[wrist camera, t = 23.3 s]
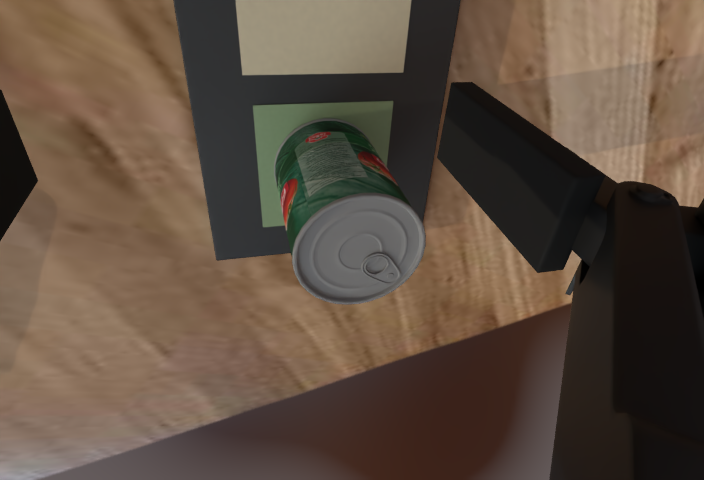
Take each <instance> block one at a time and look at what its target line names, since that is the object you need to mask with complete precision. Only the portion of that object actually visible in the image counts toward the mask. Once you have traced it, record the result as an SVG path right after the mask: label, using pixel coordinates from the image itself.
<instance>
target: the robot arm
mask: <svg viewBox="0 0 704 480" xmlns="http://www.w3.org/2000/svg"><path fill="white" fill-rule="evenodd" d="M437 158H438V159H439V160H440V161H441V163H442V164H443V165H444V166H445V167H446V168H447V169H448V171H449V172H450V173H451V174H452V175H453V176H454V178H455V179H456V180H457V181H458V182H459V183H460V184H461V186H462V187H463V188H464V189H465V190H466V191H467V192H468V194H469V195H470V196H471V197H472V198H473V199H474V200H475V202H476V203H477V204H478V205H479V206H480V207H481V208H482V210H483V211H484V212H485V213H486V214H487V215H488V216H489V218H490V219H491V220H492V221H493V222H494V223H495V225H496V226H497V227H498V228H499V229H500V230H501V231H502V233H503V234H504V235H505V236H506V237H507V238H508V239H509V241H510V242H511V243H512V244H513V245H514V246H515V247H516V249H517V250H518V251H519V252H520V253H521V254H522V255H523V257H524V258H525V259H526V260H527V261H528V262H529V263H530V265H531V266H532V267H533V268H534V269H535V270H536V272H537V273H540V272H548V271H556V270H563V269H564V267H565V265H566V262H567V260H568V258H569V256H570V254H571V251H572V250H573V251H574V252H575V253H576V254H577V255H578V256H579V257H580V258H581V259H582V260H581V262H580V264H579V266H578V268H577V270H576V272H575V275H574V277H573V279H572V281H571V283H570V285H569V287H568V289H567V292H566V294H568V295H570V294H571V293H572V291H573V298H572V306H571V315H570V322H569V330H568V338H567V346H566V354H565V362H564V369H563V378H562V385H561V393H560V401H559V409H558V416H557V424H556V432H555V440H554V448H553V456H552V464H551V472H550V480H704V199H703V201H702V202H701V204H700V206H699V207H698V208H697V207H687V206H679V204H678V202H677V200H676V198H675V197H674V196H672V195H671V194H670V193H668V192H666V191H664V190H662V189H660V188H658V187H656V186H654V185H651V184H646V183H641V182H635V181H624V182H621V183H616V182H615V181H614V180H612V179H611V178H609V177H608V176H606V175H605V174H604V173H602V172H601V171H599V170H598V169H596V168H595V167H594V166H592V165H590V164H589V163H588V162H586V161H585V160H583V159H582V158H580V157H579V156H578V155H576V154H575V153H573V152H572V151H571V150H569V149H568V148H566V147H564V146H563V145H561V144H560V143H558V142H557V141H556V140H554V139H553V138H551V137H550V136H548V135H547V134H546V133H544V132H543V131H541V130H540V129H538V128H537V127H536V126H534V125H533V124H531V123H530V122H528V121H527V120H526V119H524V118H523V117H521V116H520V115H518V114H517V113H516V112H514V111H513V110H511V109H510V108H508V107H507V106H506V105H504V104H503V103H501V102H500V101H498V100H497V99H496V98H494V97H493V96H491V95H490V94H488V93H487V92H486V91H484V90H483V89H481V88H480V87H478V86H477V85H476V84H474V83H473V82H453V83H451V88H450V93H449V98H448V104H447V109H446V114H445V119H444V124H443V130H442V135H441V140H440V145H439V151H438V156H437ZM37 181H38V179H37V177H36V174H35V172H34V169H33V167H32V165H31V162H30V160H29V157H28V155H27V152H26V150H25V147H24V145H23V142H22V140H21V137H20V135H19V132H18V130H17V127H16V125H15V123H14V120H13V118H12V115H11V113H10V110H9V108H8V105H7V103H6V100H5V98H4V95H3V93H2V90H0V241H1V239H2V237H3V236H4V234H5V233H6V231H7V229H8V228H9V226H10V225H11V223H12V221H13V220H14V218H15V217H16V215H17V213H18V212H19V210H20V209H21V207H22V205H23V204H24V202H25V201H26V199H27V197H28V196H29V194H30V193H31V191H32V189H33V188H34V186H35V185H36V183H37Z"/></svg>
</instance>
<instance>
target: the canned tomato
mask: <svg viewBox="0 0 704 480" xmlns="http://www.w3.org/2000/svg"><path fill="white" fill-rule="evenodd" d="M274 176H275V181H276V184H277V189H278V193H279V198H280V203H281V208H282V213H283V217H284V222H285V227H286V232H287V237H288V241H289V246H290V251H291V255H292V263H293V268H294V272H295V275H296V277H297V279H298V280H299V282H300V284H301V285H302V286H303V287H304V288H305V289H306V291H308V292H309V293H311V294H312V295H313V296H315V297H317V298H319V299H321V300H324V301H327V302H331V303H335V304H360V303H364V302H368V301H372V300H375V299H378V298H380V297H383V296H385V295H386V294H388V293H390V292H392V291H394V290H395V289H396V288H398V287H399V286H400V285H402V284H403V283H404V282H405V281H406V280H407V279H408V278H409V277H410V276H411V275H412V274H413V272H414V271H415V269H416V268H417V267H418V265H419V263H420V261H421V259H422V256H423V253H424V249H425V238H426V235H425V230H424V226H423V223H422V221H421V219H420V218H419V216H418V214H417V213H416V212H415V211H414V210H413V208H412V207H411V205H410V203H409V201H408V199H407V198H406V197H405V195H404V193H403V192H402V191H401V189H400V187H399V186H398V185H397V183H396V181H395V179H394V178H393V177H392V175H391V173H390V172H389V170H388V168H387V167H386V166H385V164H384V162H383V161H382V159H381V158H380V156H379V155H378V153H377V152H376V150H375V148H374V147H373V145H372V144H371V142H370V140H369V138H368V137H367V136H366V135H365V134H364V132H363V131H362V130H360V129H359V128H358V127H356V126H355V125H353V124H351V123H349V122H347V121H344V120H340V119H335V118H323V119H317V120H313V121H310V122H307V123H305V124H303V125H301V126H299V127H298V128H296V129H294V130H293V131H292V132H291V133H290V134H289V135H288V136H287V137H286V138H285V139H284V141H283V142H282V144H281V145H280V147H279V149H278V151H277V153H276V157H275V162H274Z"/></svg>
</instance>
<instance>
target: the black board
mask: <svg viewBox="0 0 704 480" xmlns="http://www.w3.org/2000/svg"><path fill="white" fill-rule="evenodd" d="M173 1H174V7H175V13H176V19H177V25H178V31H179V37H180V43H181V49H182V55H183V61H184V67H185V73H186V79H187V85H188V91H189V98H190V104H191V110H192V116H193V122H194V128H195V134H196V140H197V146H198V152H199V158H200V164H201V170H202V176H203V182H204V188H205V194H206V200H207V206H208V212H209V218H210V224H211V230H212V236H213V242H214V249H215V255H216V260H226V259H236V258H246V257H256V256H265V255H275V254H285V253H291V251H290V246H289V241H288V237H287V232H286V227H285V222H284V217H283V213H282V208H281V203H280V198H279V193H278V189H277V184H276V181H275V176H274V162H275V157H276V153H277V151H278V149H279V147H280V145H281V144H282V142H283V141H284V139H285V138H286V137H287V136H288V135H289V134H290V133H291V132H292V131H293V130H294V129H296V128H298V127H299V126H301V125H303V124H305V123H307V122H310V121H313V120H317V119H323V118H335V119H340V120H344V121H347V122H349V123H351V124H353V125H355V126H356V127H358V128H359V129H360V130H362V131H363V132H364V134H365V135H366V136H367V137H368V138H369V140H370V142H371V144H372V145H373V147H374V148H375V150H376V152H377V153H378V155H379V156H380V158H381V159H382V161H383V162H384V164H385V166H386V167H387V168H388V170H389V172H390V173H391V175H392V177H393V178H394V179H395V181H396V183H397V185H398V186H399V187H400V189H401V191H402V192H403V193H404V195H405V197H406V198H407V199H408V201H409V203H410V205H411V207H412V208H413V210H414V211H415V212H416V213H417V214H418V216H419V218H420V219H421V221H422V223H423V218H424V212H425V206H426V200H427V194H428V188H429V182H430V177H431V171H432V165H433V159H434V153H435V147H436V141H437V136H438V130H439V124H440V118H441V112H442V106H443V101H444V95H445V89H446V83H447V77H448V71H449V65H450V60H451V54H452V48H453V42H454V36H455V30H456V24H457V19H458V13H459V7H460V1H461V0H173Z"/></svg>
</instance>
